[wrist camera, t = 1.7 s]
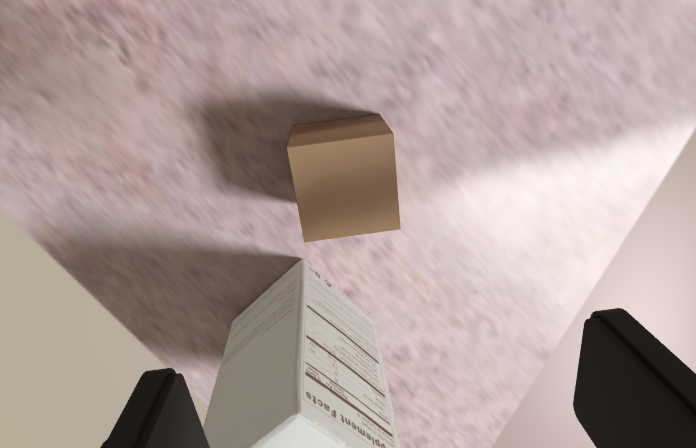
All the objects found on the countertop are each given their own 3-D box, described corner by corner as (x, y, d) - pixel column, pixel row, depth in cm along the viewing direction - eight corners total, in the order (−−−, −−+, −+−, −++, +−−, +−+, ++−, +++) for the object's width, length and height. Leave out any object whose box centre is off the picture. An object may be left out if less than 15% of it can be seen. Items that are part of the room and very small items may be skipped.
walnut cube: (292, 125, 24) (286, 147, 19) (379, 113, 24) (393, 133, 19) (306, 205, 26) (304, 242, 22) (386, 194, 26) (400, 229, 22)
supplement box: (305, 373, 32) (299, 567, 20) (230, 319, 29) (173, 505, 18) (378, 317, 30) (415, 495, 19) (304, 253, 27) (294, 414, 16)
